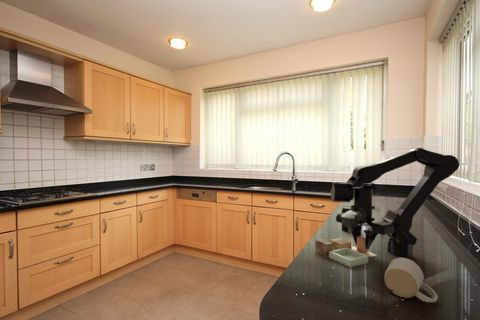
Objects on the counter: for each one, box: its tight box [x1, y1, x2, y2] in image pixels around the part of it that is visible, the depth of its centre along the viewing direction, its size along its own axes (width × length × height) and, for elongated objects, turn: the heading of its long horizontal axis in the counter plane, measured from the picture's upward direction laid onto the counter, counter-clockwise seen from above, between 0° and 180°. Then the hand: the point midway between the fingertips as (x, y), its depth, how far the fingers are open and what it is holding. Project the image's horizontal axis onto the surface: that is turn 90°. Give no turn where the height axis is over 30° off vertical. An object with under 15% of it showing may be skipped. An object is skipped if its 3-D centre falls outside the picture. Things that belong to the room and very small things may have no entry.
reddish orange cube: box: [356, 235, 369, 252], centre depth 85 cm, size 4×4×4 cm
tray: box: [328, 248, 369, 268], centre depth 78 cm, size 8×8×2 cm
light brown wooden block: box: [329, 237, 352, 250], centre depth 87 cm, size 5×5×3 cm
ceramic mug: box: [383, 257, 439, 303], centre depth 61 cm, size 11×8×8 cm
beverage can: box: [340, 205, 352, 234], centre depth 111 cm, size 7×7×12 cm
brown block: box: [314, 238, 333, 258], centre depth 83 cm, size 5×3×4 cm, turn 27°
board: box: [314, 245, 377, 261], centre depth 84 cm, size 12×16×2 cm
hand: (362, 247), depth 85 cm, fingers closed on reddish orange cube, 3 cm apart
